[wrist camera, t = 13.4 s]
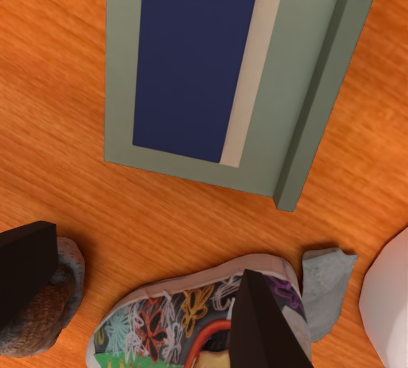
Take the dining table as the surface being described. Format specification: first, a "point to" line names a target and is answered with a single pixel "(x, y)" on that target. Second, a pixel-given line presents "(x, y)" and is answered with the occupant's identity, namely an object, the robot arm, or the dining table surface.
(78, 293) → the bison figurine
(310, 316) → the stone tool
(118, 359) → the sneaker
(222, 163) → the green platform tray
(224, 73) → the navy blue rectangular block
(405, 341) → the container
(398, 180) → the dining table surface
